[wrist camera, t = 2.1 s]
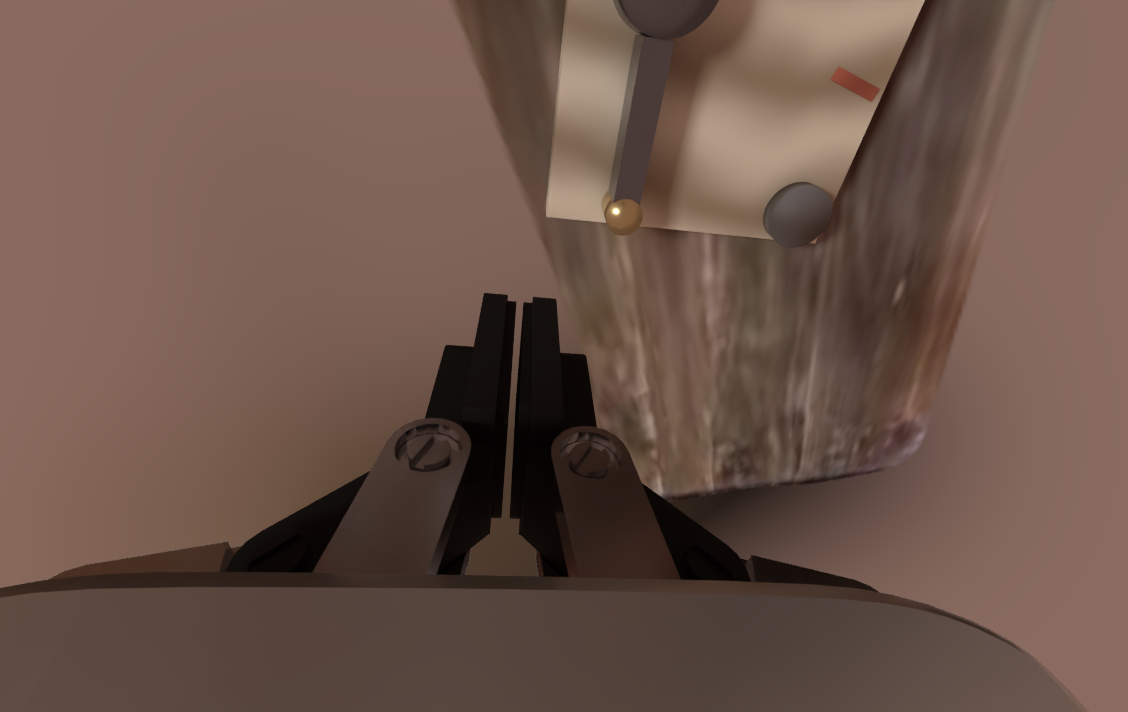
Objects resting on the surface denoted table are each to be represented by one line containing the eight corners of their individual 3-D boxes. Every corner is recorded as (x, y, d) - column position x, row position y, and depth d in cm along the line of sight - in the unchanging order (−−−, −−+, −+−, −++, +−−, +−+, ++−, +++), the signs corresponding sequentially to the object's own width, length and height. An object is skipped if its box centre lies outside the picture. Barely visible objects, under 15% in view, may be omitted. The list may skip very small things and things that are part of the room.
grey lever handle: (620, -99, 22) (630, -112, 20) (721, -81, 23) (744, -92, 20) (577, 215, 31) (580, 232, 29) (651, 223, 32) (661, 240, 29)
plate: (588, -232, 21) (596, -268, 19) (968, -155, 23) (1024, -177, 21) (546, 206, 33) (546, 224, 30) (802, 233, 35) (824, 251, 32)
